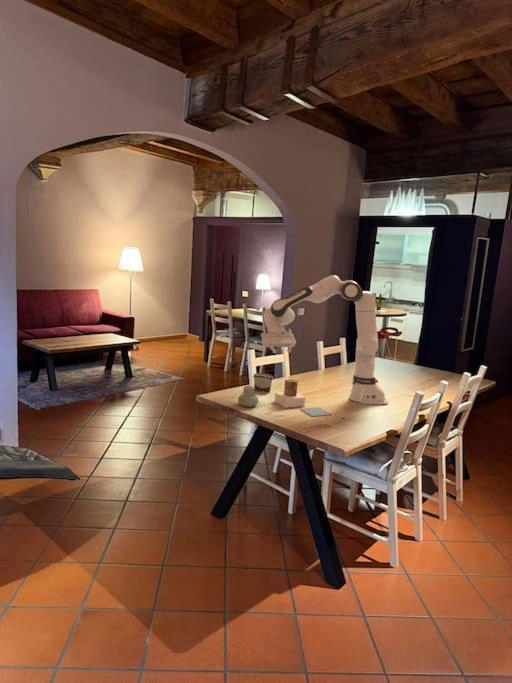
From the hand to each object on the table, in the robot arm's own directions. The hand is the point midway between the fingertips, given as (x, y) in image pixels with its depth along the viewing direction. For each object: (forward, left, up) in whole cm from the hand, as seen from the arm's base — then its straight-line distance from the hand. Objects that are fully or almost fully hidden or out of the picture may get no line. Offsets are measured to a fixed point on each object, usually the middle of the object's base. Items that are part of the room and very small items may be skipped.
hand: (282, 352), depth 263 cm
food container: (+10, -11, -27) cm, 30 cm away
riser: (-6, +11, -26) cm, 29 cm away
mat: (-20, +22, -26) cm, 40 cm away
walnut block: (-6, +11, -21) cm, 25 cm away
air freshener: (+16, +21, -27) cm, 37 cm away
